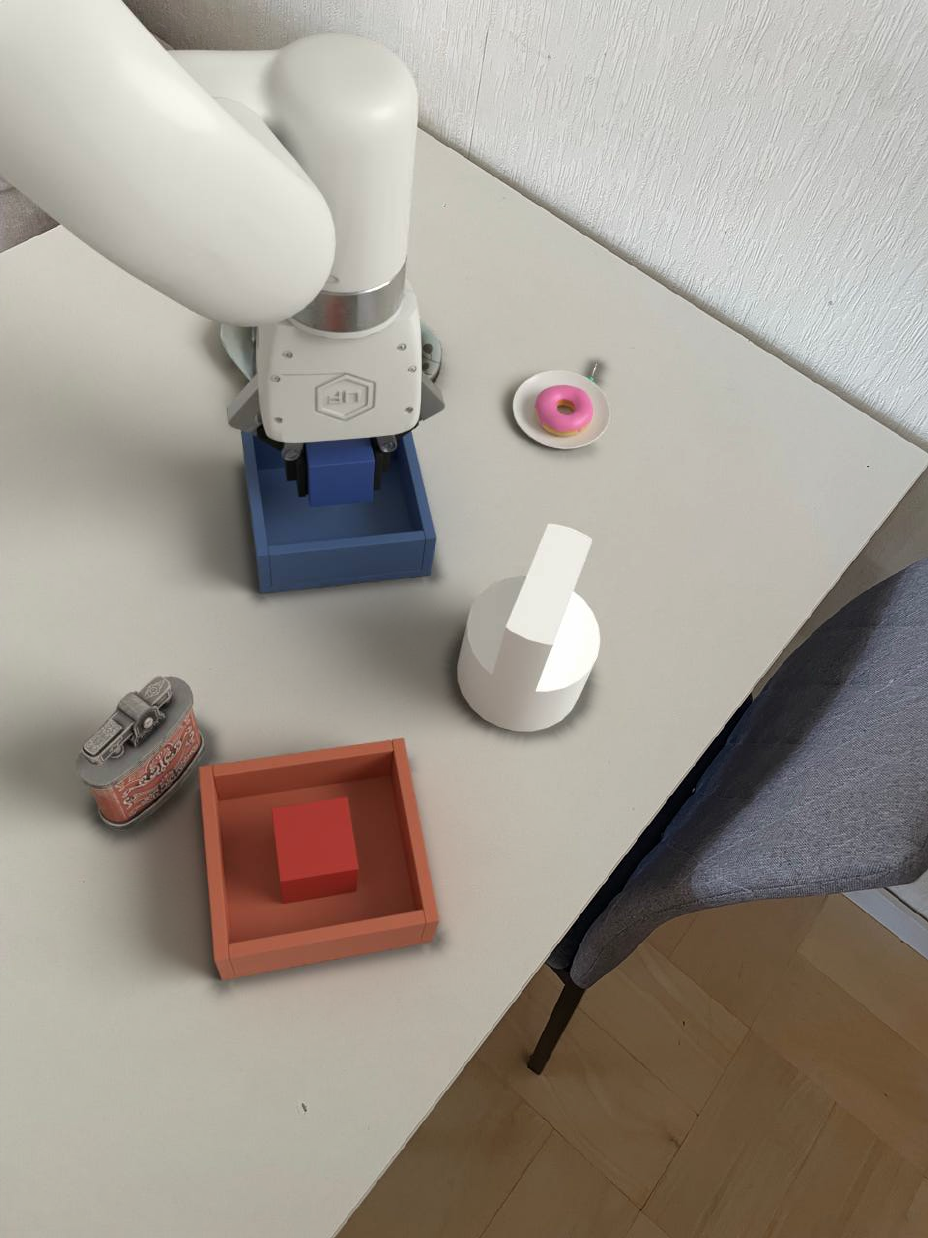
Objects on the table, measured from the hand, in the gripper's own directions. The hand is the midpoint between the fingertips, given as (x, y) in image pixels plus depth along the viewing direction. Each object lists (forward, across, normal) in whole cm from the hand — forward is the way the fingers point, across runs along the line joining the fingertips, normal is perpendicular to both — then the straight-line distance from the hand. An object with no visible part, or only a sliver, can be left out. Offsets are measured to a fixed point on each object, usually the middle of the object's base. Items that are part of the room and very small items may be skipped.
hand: (336, 476), depth 73 cm
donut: (+6, +21, +10) cm, 24 cm away
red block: (+5, -5, -26) cm, 27 cm away
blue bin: (+5, 0, 0) cm, 5 cm away
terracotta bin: (+5, -5, -26) cm, 27 cm away
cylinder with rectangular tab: (+6, +11, -15) cm, 19 cm away
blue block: (0, 0, 0) cm, 0 cm away
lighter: (+6, -14, -19) cm, 25 cm away
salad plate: (+6, +2, +17) cm, 18 cm away
